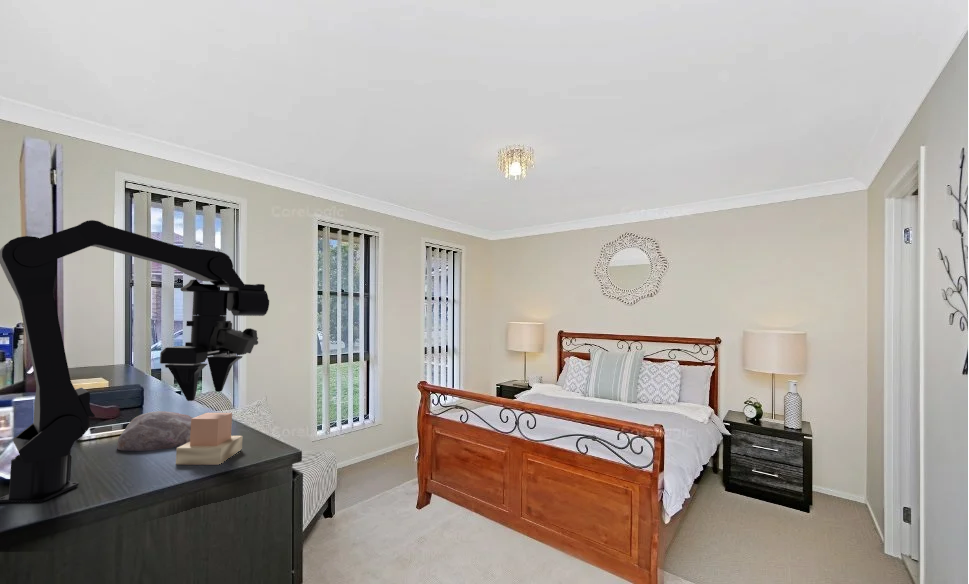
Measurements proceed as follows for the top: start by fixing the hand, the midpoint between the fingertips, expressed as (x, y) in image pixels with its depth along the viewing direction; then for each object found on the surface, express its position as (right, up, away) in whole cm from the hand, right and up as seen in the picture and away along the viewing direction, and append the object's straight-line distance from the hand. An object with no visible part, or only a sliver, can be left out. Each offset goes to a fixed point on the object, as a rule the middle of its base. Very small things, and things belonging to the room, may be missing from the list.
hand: (205, 395), depth 85 cm
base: (+1, -12, 0) cm, 12 cm away
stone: (-14, -13, +9) cm, 21 cm away
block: (+1, -9, 0) cm, 9 cm away
